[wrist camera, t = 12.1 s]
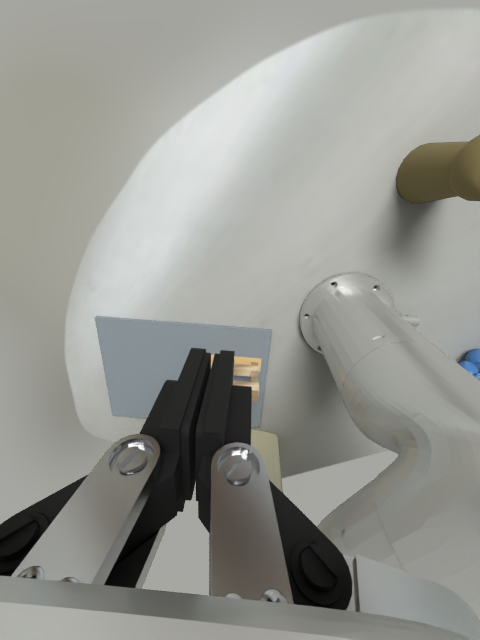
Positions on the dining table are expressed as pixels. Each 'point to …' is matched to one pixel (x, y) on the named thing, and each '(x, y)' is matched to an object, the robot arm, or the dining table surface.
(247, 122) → the dining table surface
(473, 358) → the grapes
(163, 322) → the card
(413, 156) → the cork
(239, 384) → the fence fixed
